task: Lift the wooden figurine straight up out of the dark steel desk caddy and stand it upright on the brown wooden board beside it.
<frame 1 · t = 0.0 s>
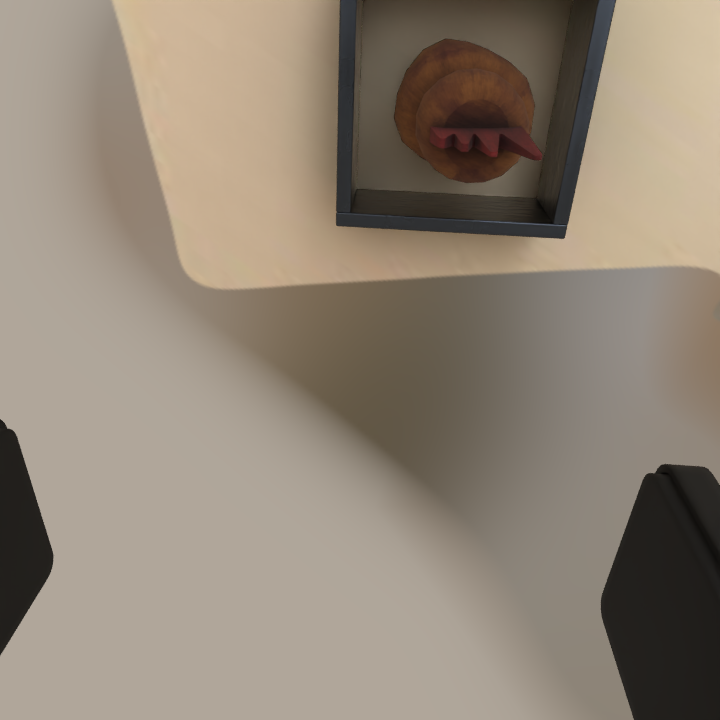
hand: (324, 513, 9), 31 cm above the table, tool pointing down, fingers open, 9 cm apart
caddy: (456, 97, 35), on the table
wooden figurine: (456, 96, 35), resting in caddy
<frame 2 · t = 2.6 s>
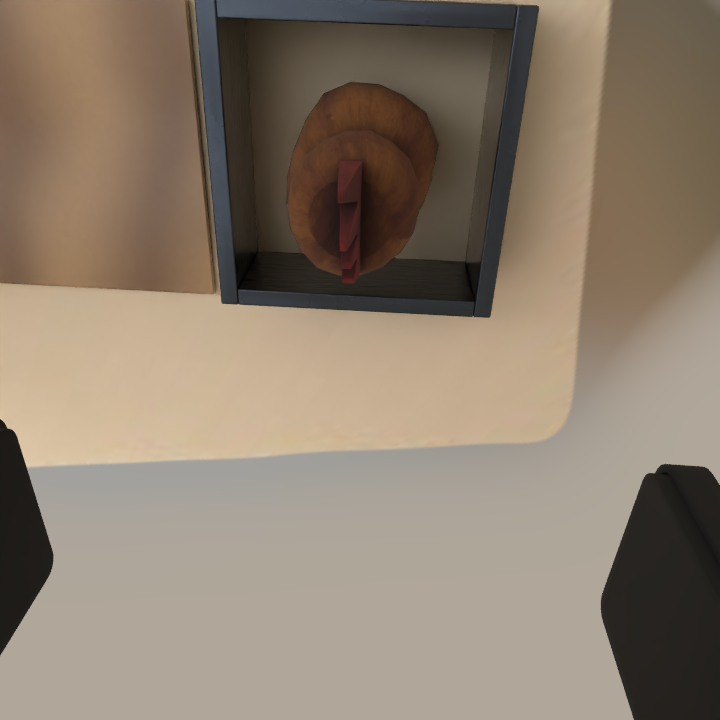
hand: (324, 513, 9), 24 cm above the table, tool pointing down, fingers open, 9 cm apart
caddy: (365, 148, 30), on the table
brown wooden board: (5, 153, 31), on the table
wooden figurine: (365, 148, 30), resting in caddy
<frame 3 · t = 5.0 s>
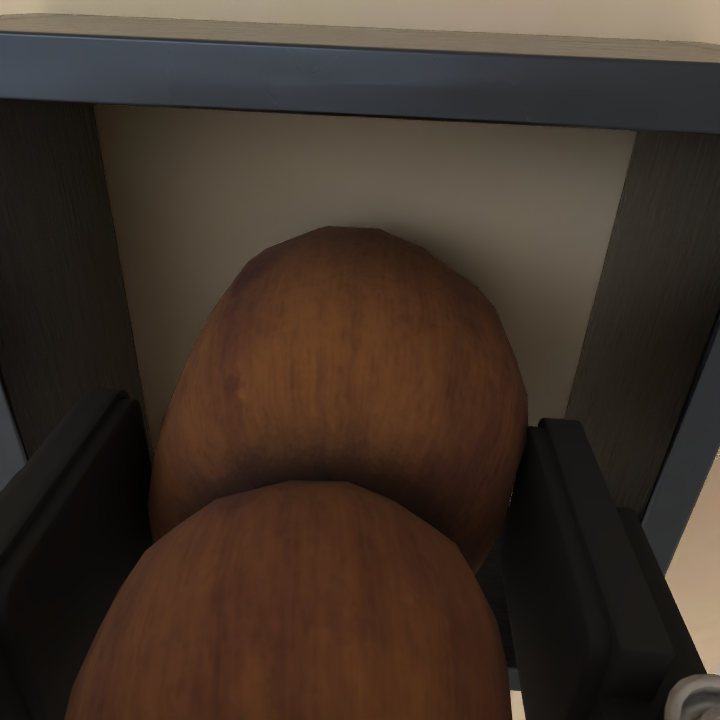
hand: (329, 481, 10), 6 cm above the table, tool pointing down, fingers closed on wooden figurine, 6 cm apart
caddy: (353, 323, 15), on the table
wooden figurine: (354, 320, 15), resting in caddy, touching gripper
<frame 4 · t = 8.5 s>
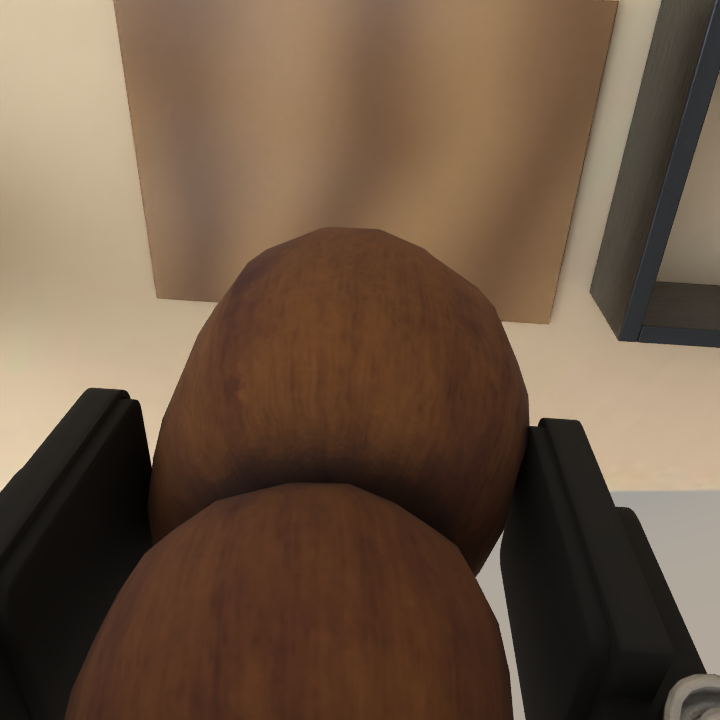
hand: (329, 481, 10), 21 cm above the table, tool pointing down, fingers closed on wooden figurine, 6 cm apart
brown wooden board: (354, 169, 28), on the table
wooden figurine: (354, 320, 15), point 15 cm above the table, touching gripper
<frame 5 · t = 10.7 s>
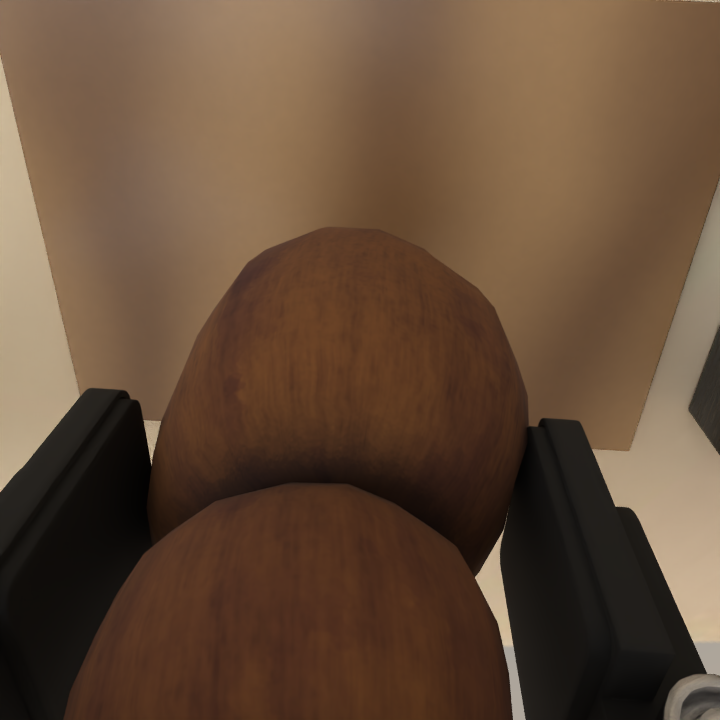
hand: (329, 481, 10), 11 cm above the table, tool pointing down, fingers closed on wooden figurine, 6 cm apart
brown wooden board: (361, 248, 19), on the table
wooden figurine: (354, 320, 15), point 5 cm above the table, touching gripper
when the fingers open (6 cm above the table, at t = 12.4 s): wooden figurine stays where it is, resting on brown wooden board.
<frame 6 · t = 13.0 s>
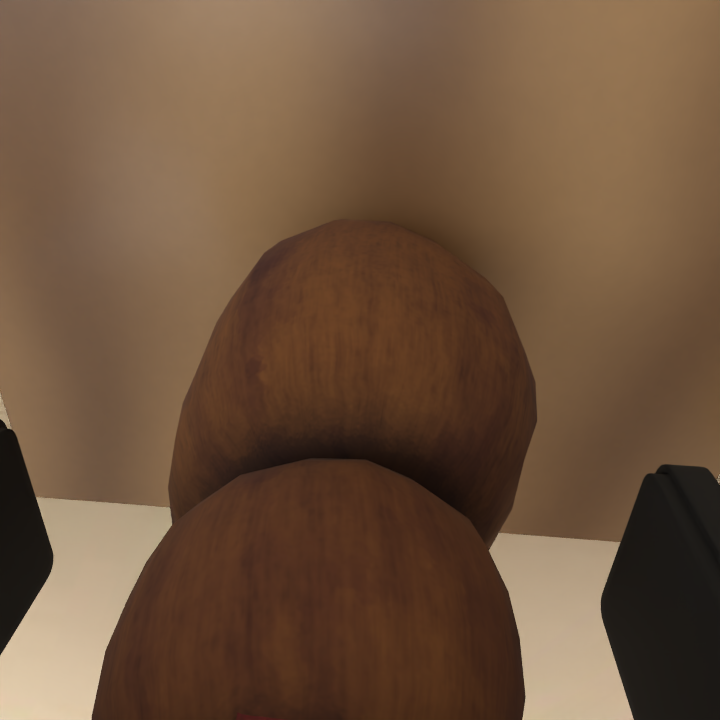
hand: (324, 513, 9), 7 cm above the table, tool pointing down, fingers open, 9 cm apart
brown wooden board: (362, 309, 16), on the table
wooden figurine: (364, 312, 15), resting on brown wooden board
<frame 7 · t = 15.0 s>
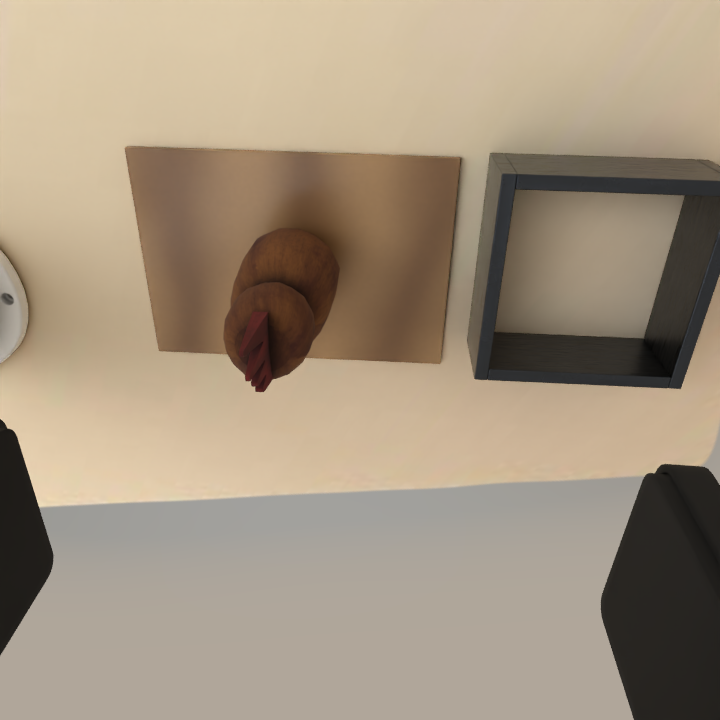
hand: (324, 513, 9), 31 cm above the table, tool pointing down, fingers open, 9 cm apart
caddy: (577, 258, 39), on the table
brown wooden board: (295, 262, 40), on the table
wooden figurine: (295, 263, 40), resting on brown wooden board
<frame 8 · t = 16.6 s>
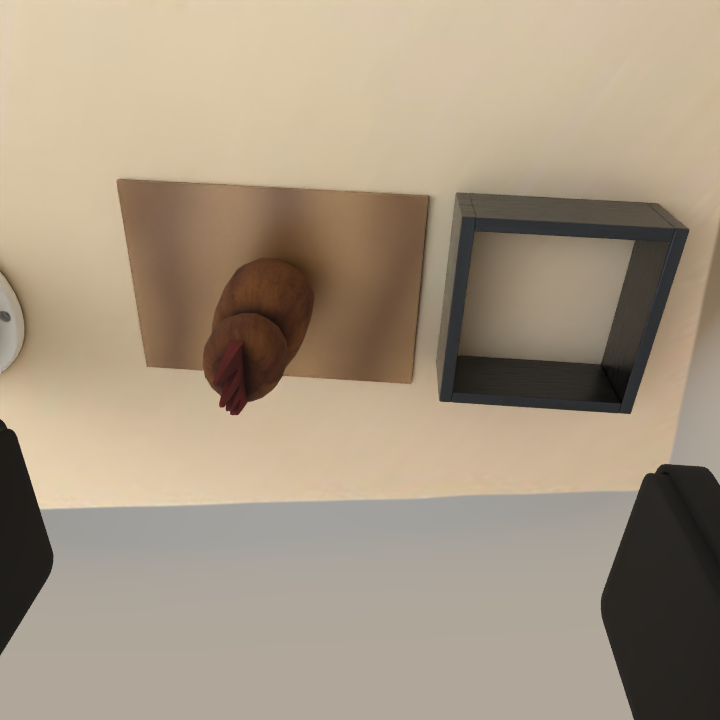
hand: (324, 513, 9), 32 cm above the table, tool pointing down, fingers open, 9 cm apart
caddy: (538, 289, 42), on the table
brown wooden board: (275, 287, 43), on the table
wooden figurine: (275, 288, 43), resting on brown wooden board
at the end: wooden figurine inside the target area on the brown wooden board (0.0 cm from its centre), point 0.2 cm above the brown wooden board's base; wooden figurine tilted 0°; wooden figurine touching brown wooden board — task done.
